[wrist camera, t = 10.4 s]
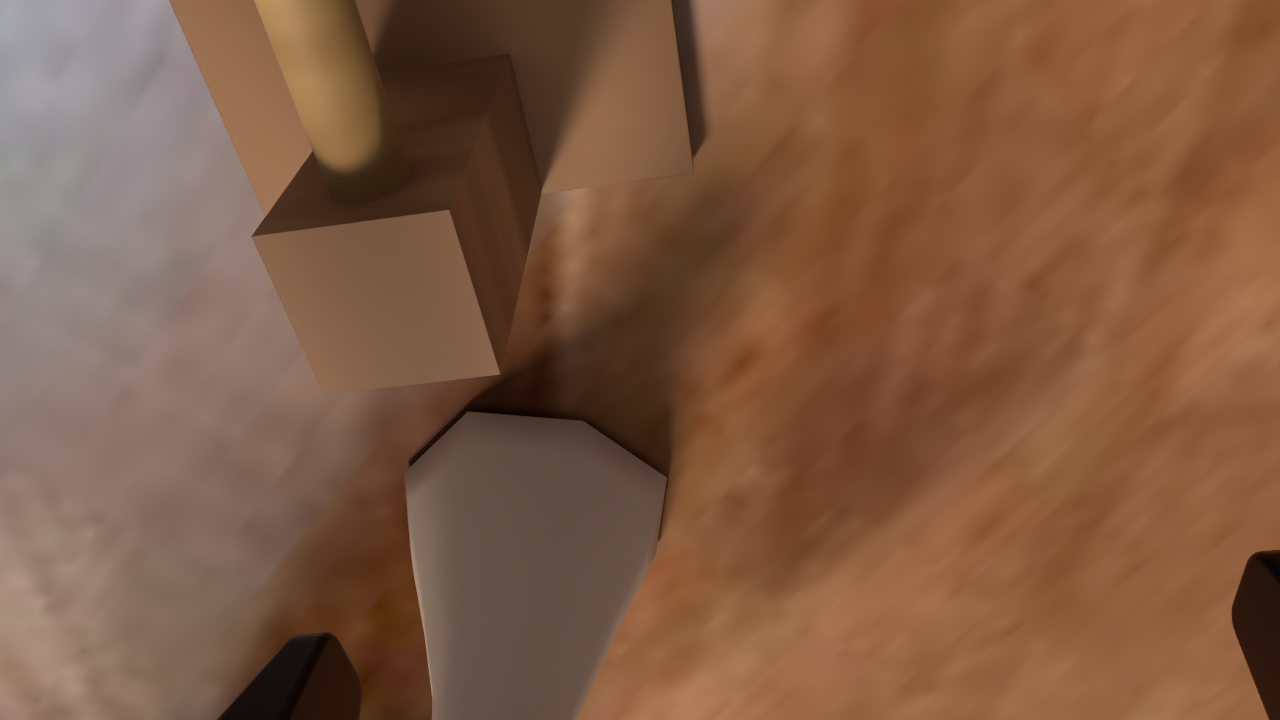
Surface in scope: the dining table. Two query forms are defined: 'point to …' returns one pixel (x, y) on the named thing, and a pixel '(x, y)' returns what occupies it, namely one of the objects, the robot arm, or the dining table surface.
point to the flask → (526, 561)
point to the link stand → (428, 156)
